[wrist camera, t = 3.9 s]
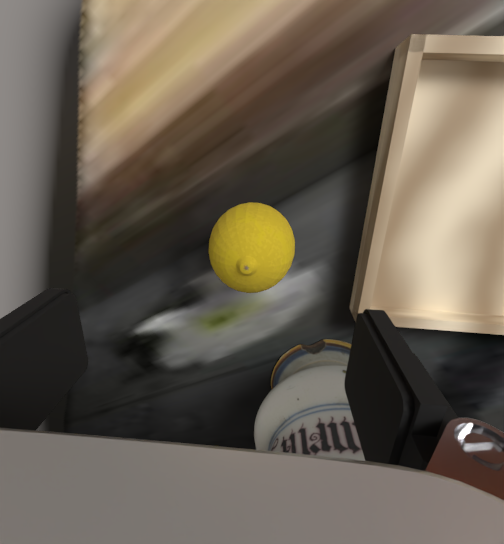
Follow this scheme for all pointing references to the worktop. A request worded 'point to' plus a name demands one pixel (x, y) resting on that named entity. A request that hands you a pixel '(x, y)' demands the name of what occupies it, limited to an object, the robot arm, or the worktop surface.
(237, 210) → the lemon
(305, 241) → the worktop surface
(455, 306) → the birch tray
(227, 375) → the worktop surface
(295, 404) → the apothecary jar
